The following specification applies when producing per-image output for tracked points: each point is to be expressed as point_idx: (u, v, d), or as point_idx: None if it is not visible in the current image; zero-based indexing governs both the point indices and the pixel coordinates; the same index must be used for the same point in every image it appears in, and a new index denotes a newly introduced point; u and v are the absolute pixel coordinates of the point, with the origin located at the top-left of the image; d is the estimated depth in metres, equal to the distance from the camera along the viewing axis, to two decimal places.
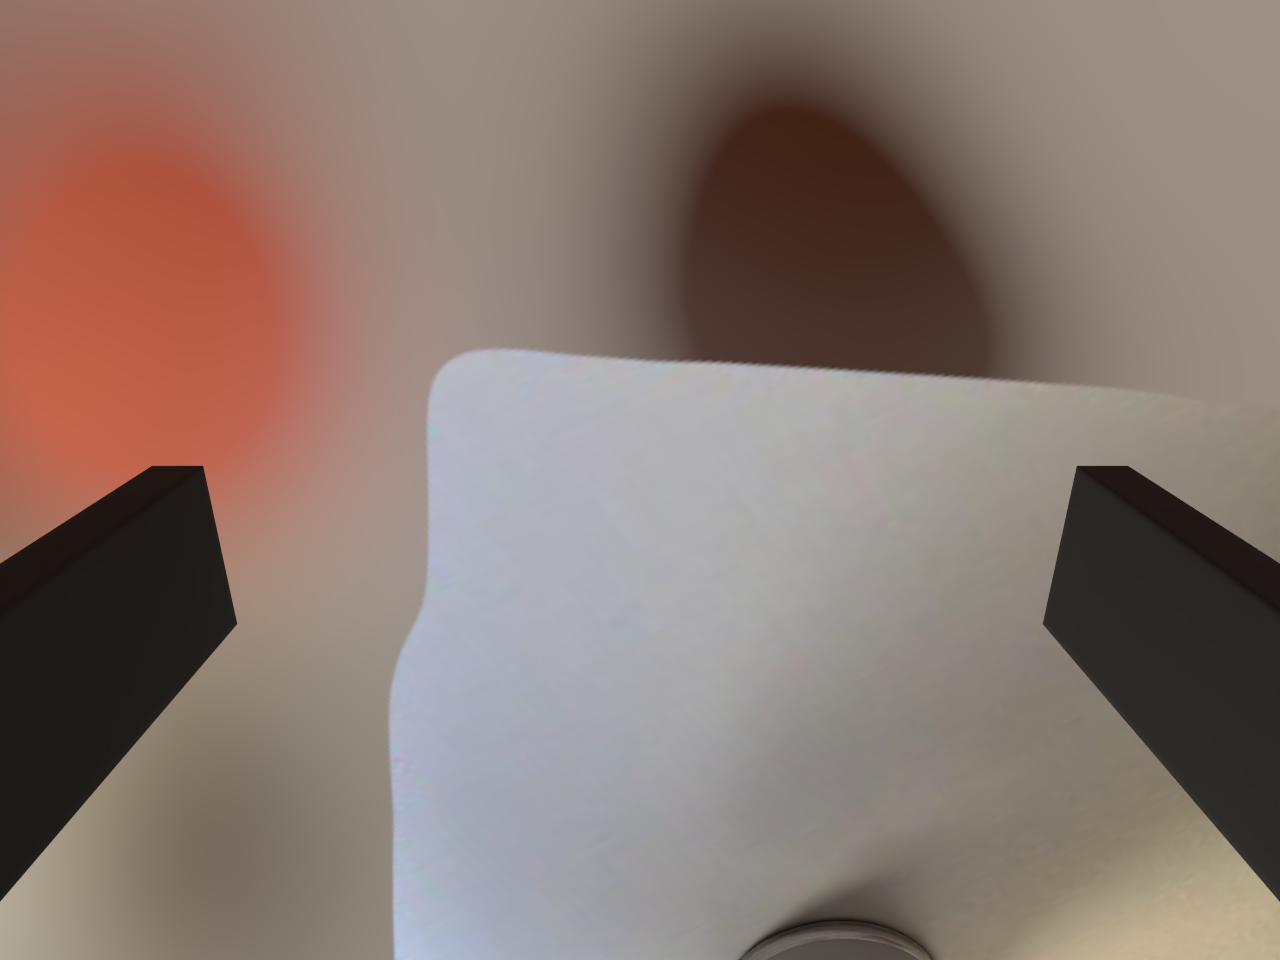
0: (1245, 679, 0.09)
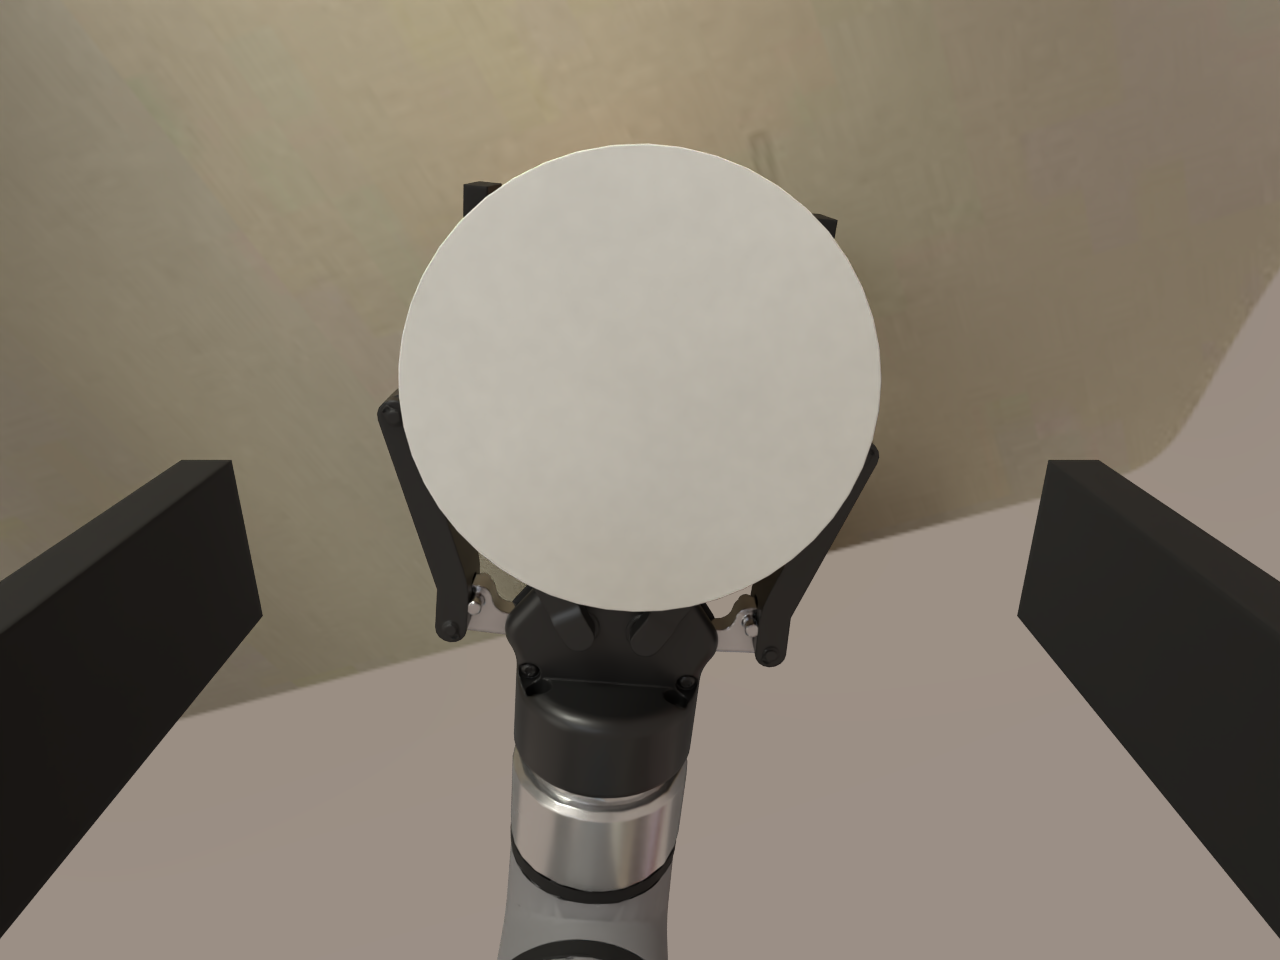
0: (1202, 665, 0.09)
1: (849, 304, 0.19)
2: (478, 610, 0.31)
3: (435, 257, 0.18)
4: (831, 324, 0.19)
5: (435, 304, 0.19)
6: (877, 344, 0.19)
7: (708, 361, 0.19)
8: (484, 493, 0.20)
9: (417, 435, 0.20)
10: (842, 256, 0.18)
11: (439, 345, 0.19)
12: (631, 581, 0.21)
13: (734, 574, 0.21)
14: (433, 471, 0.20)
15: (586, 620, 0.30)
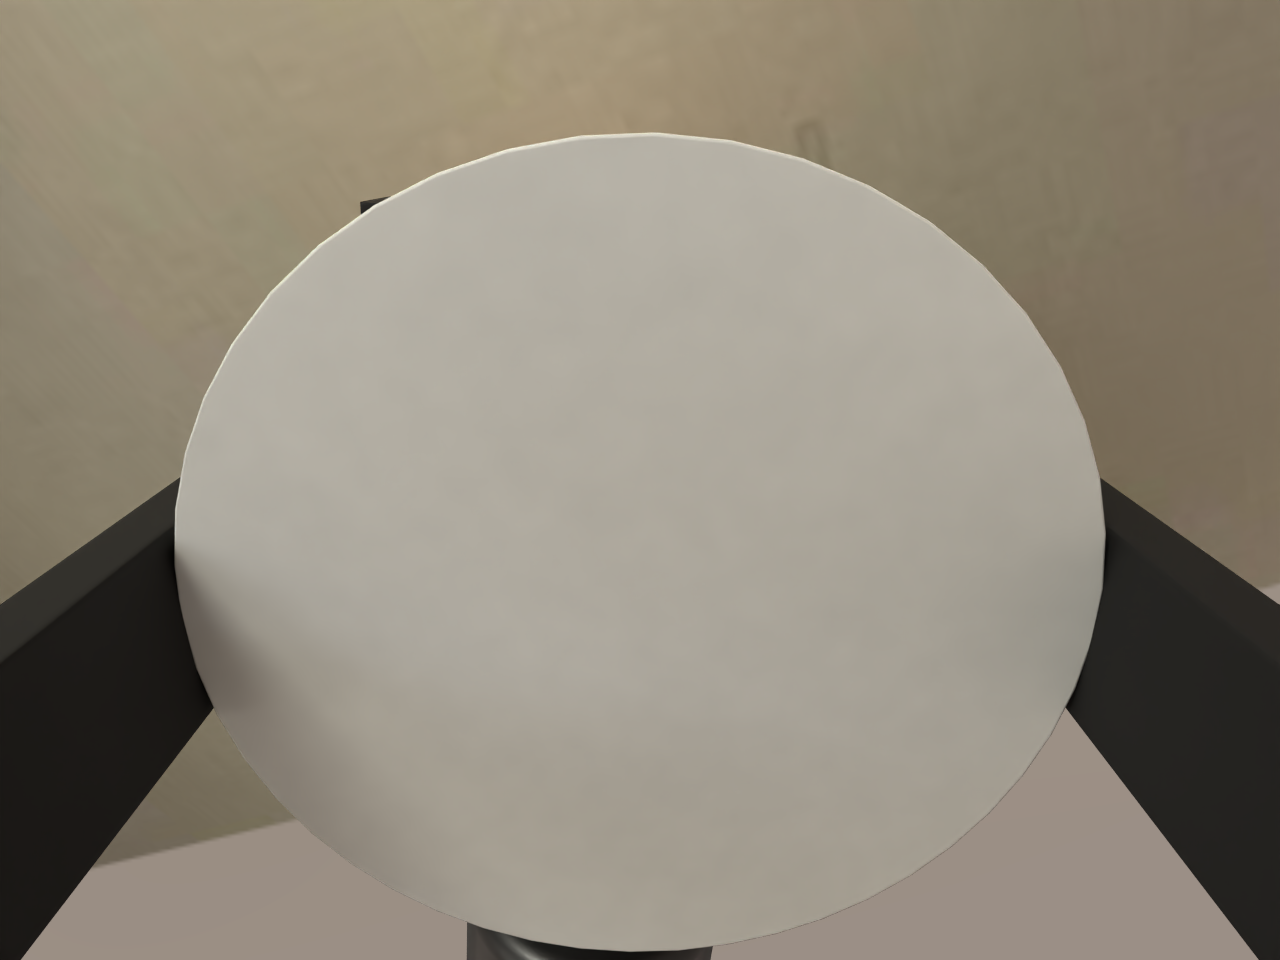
0: (1155, 651, 0.09)
1: (1056, 453, 0.09)
2: None
3: (224, 364, 0.09)
4: (1016, 490, 0.10)
5: (234, 453, 0.09)
6: (1102, 525, 0.10)
7: (772, 555, 0.10)
8: (355, 775, 0.11)
9: (223, 682, 0.11)
10: (1051, 363, 0.09)
11: (249, 528, 0.10)
12: (625, 908, 0.12)
13: (807, 898, 0.12)
14: (259, 740, 0.11)
15: None
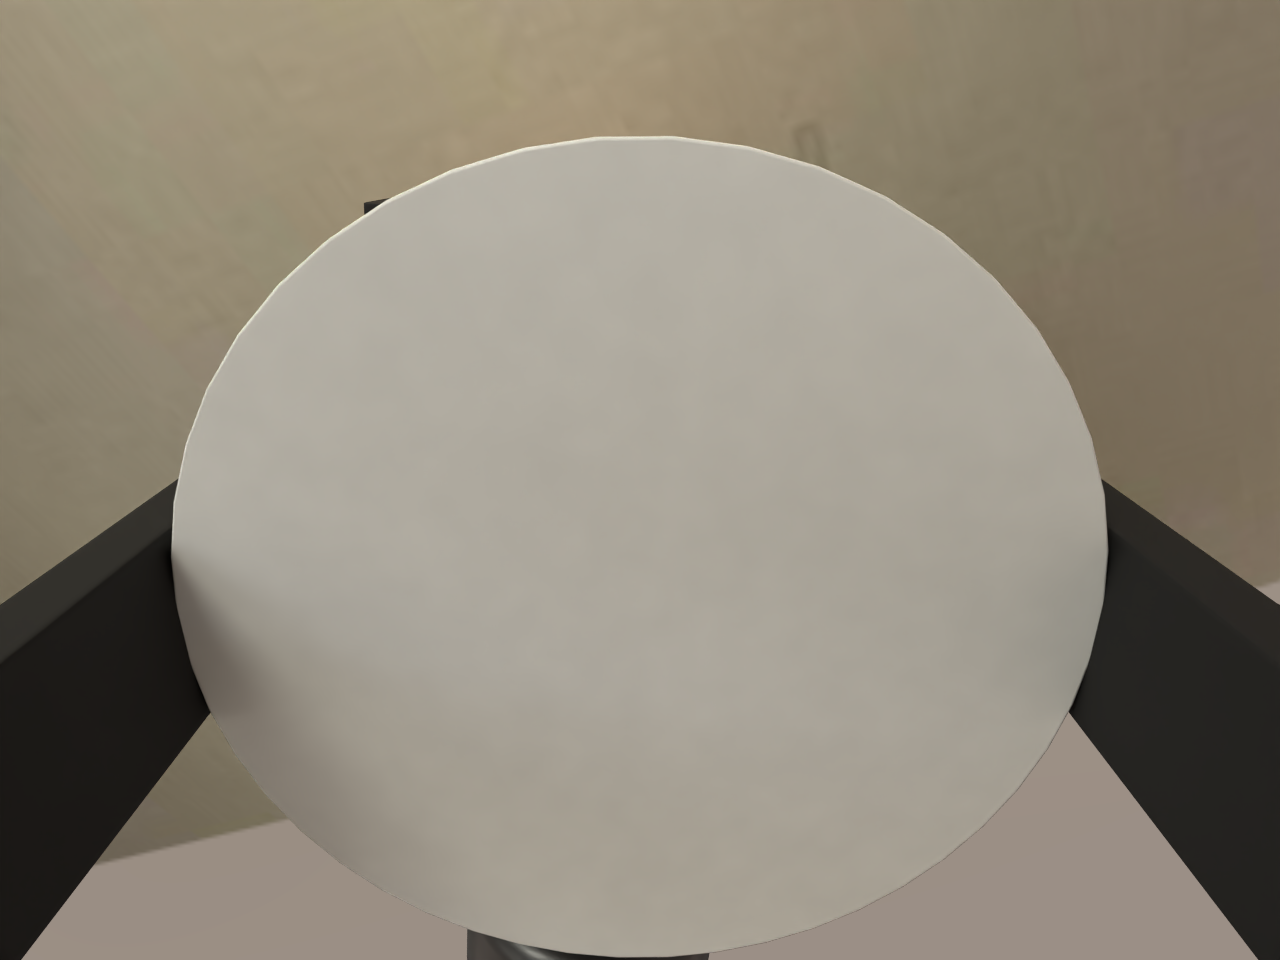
0: (1154, 651, 0.09)
1: (279, 347, 0.09)
2: None
3: None
4: (333, 363, 0.09)
5: (602, 932, 0.12)
6: (322, 248, 0.09)
7: (511, 552, 0.10)
8: (897, 807, 0.11)
9: (820, 912, 0.12)
10: (206, 403, 0.09)
11: (662, 915, 0.12)
12: (1027, 524, 0.10)
13: (961, 318, 0.09)
14: (877, 880, 0.12)
15: None
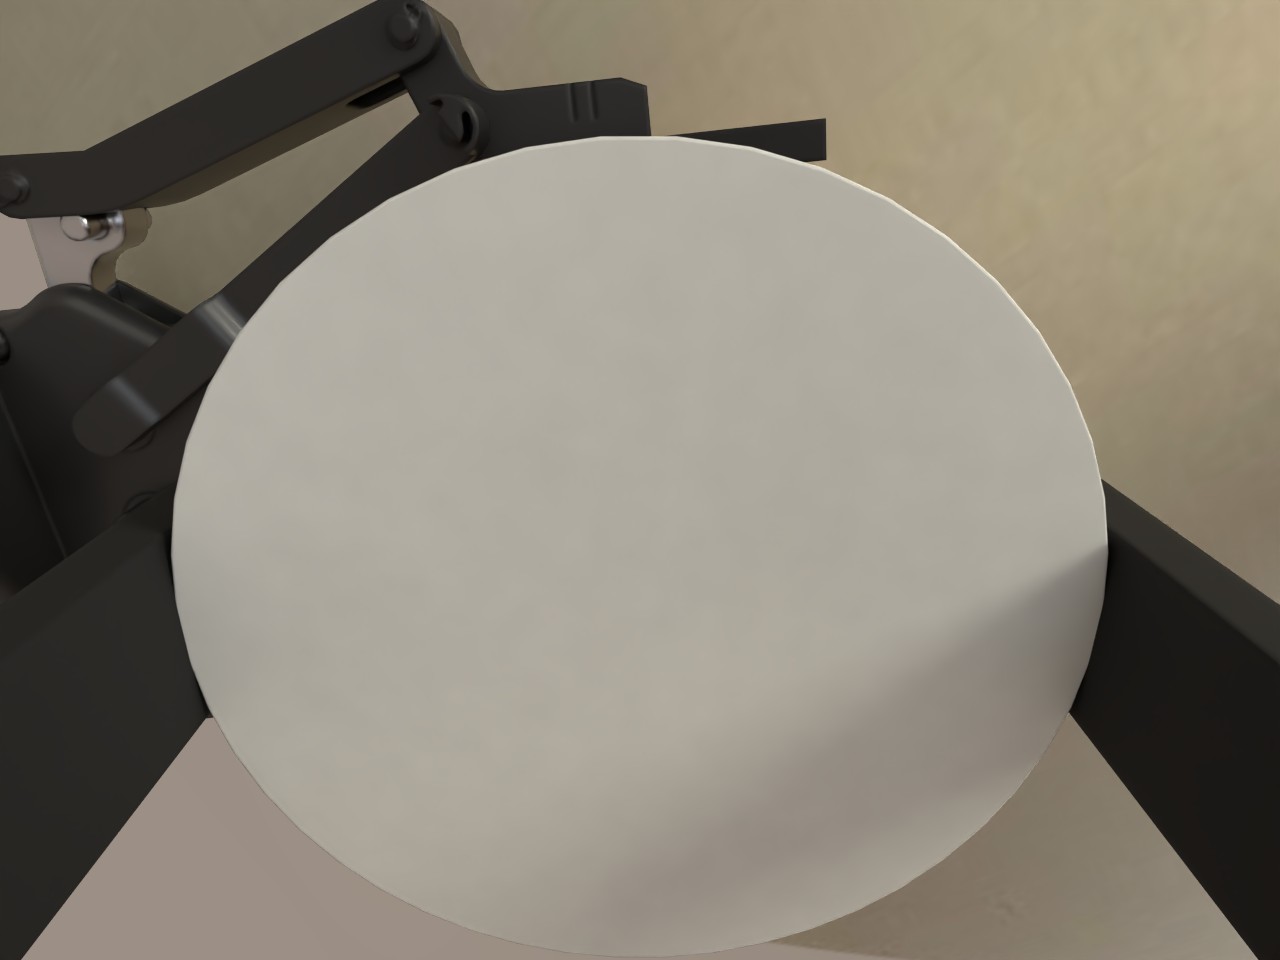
0: (1155, 651, 0.09)
1: (280, 345, 0.09)
2: (75, 237, 0.17)
3: None
4: (335, 361, 0.09)
5: (600, 932, 0.12)
6: (324, 246, 0.09)
7: (512, 551, 0.10)
8: (895, 809, 0.11)
9: (818, 913, 0.12)
10: (207, 400, 0.09)
11: (660, 916, 0.12)
12: (1027, 527, 0.10)
13: (962, 320, 0.09)
14: (875, 881, 0.12)
15: (139, 436, 0.18)
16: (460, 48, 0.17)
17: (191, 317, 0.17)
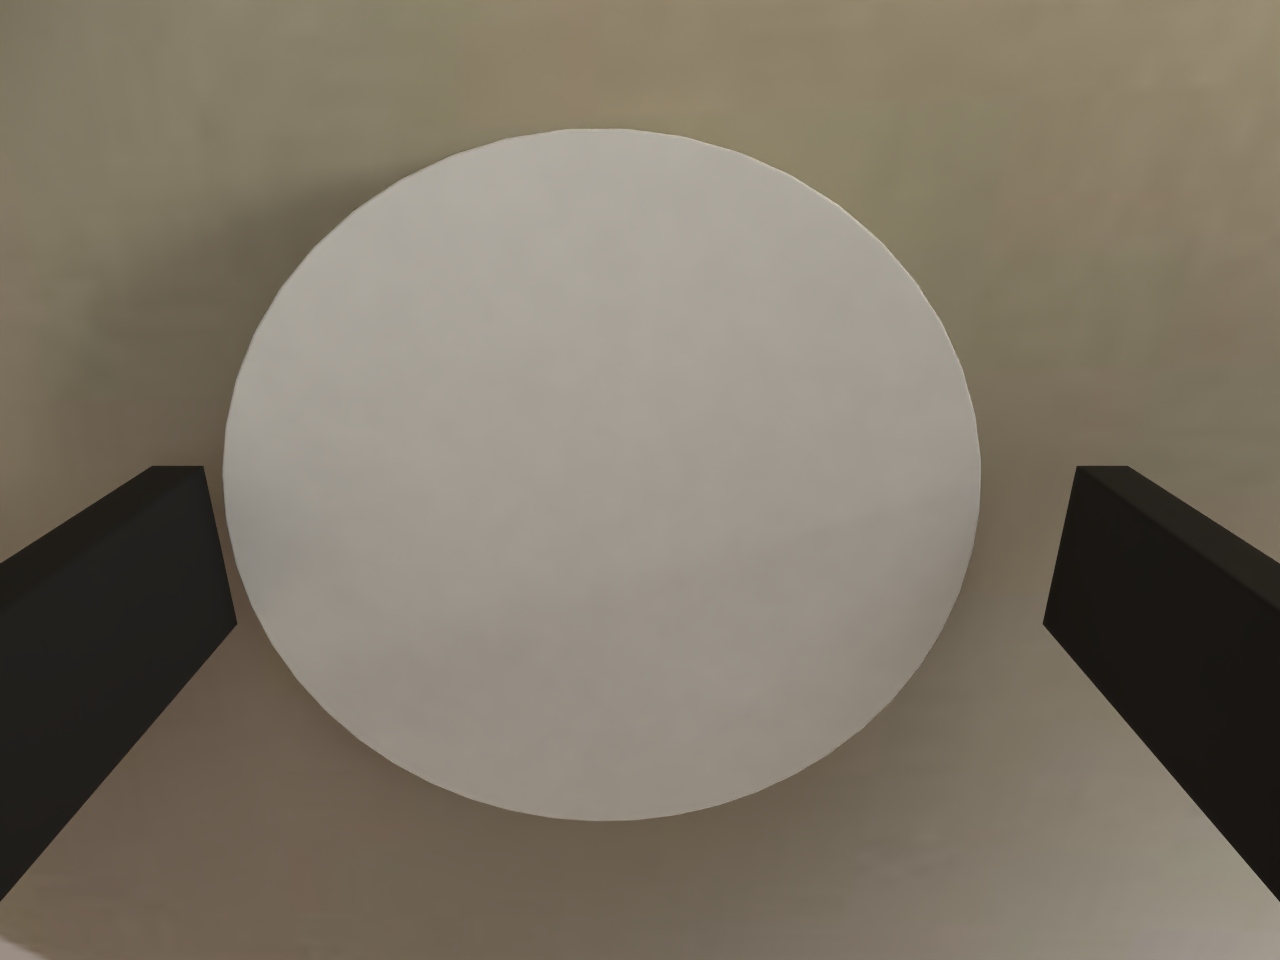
0: (1245, 679, 0.09)
1: (313, 297, 0.11)
2: None
3: (523, 812, 0.15)
4: (357, 310, 0.11)
5: (580, 799, 0.15)
6: (349, 217, 0.11)
7: (501, 467, 0.12)
8: (821, 683, 0.14)
9: (761, 777, 0.14)
10: (254, 343, 0.11)
11: (629, 783, 0.14)
12: (915, 440, 0.12)
13: (854, 272, 0.11)
14: (807, 748, 0.14)
15: None
16: None
17: None
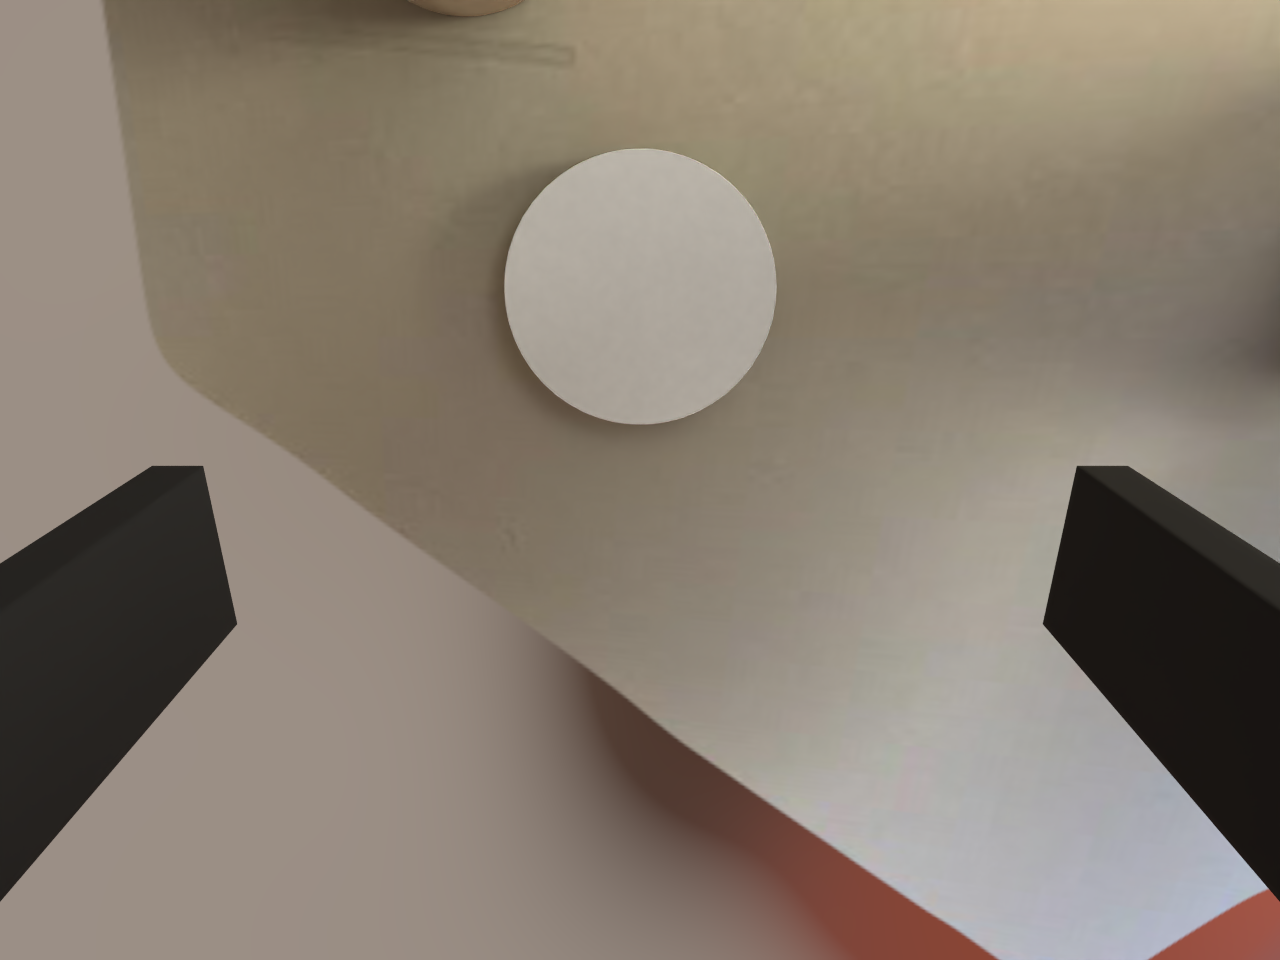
0: (1245, 679, 0.09)
1: (544, 204, 0.33)
2: None
3: (605, 419, 0.37)
4: (558, 209, 0.33)
5: (627, 413, 0.37)
6: (558, 177, 0.33)
7: (603, 267, 0.34)
8: (721, 360, 0.36)
9: (700, 403, 0.36)
10: (522, 220, 0.33)
11: (647, 405, 0.36)
12: (750, 258, 0.34)
13: (725, 196, 0.33)
14: (718, 390, 0.36)
15: None
16: None
17: None
